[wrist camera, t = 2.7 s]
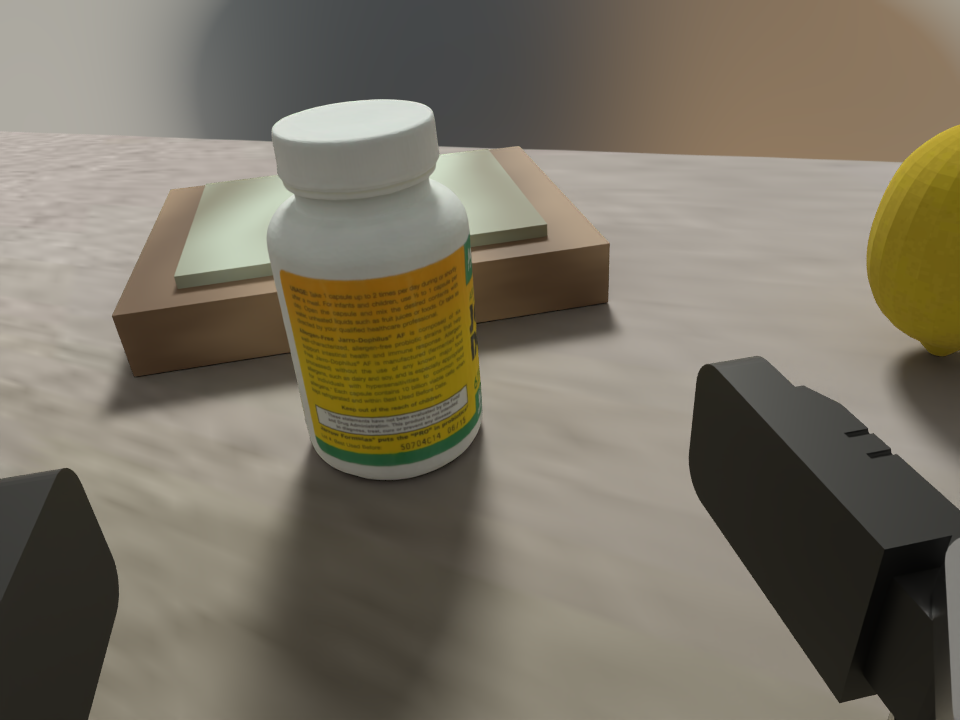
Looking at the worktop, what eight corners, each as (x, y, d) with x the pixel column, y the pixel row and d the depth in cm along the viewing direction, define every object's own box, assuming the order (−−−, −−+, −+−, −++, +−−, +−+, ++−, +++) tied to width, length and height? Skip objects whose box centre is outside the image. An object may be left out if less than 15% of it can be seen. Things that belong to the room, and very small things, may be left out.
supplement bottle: (292, 415, 25) (220, 115, 20) (440, 366, 27) (409, 82, 22) (345, 512, 21) (271, 164, 16) (516, 447, 22) (499, 118, 17)
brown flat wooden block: (520, 191, 42) (518, 136, 40) (608, 302, 30) (610, 230, 28) (184, 236, 39) (167, 179, 38) (134, 376, 27) (107, 303, 26)
